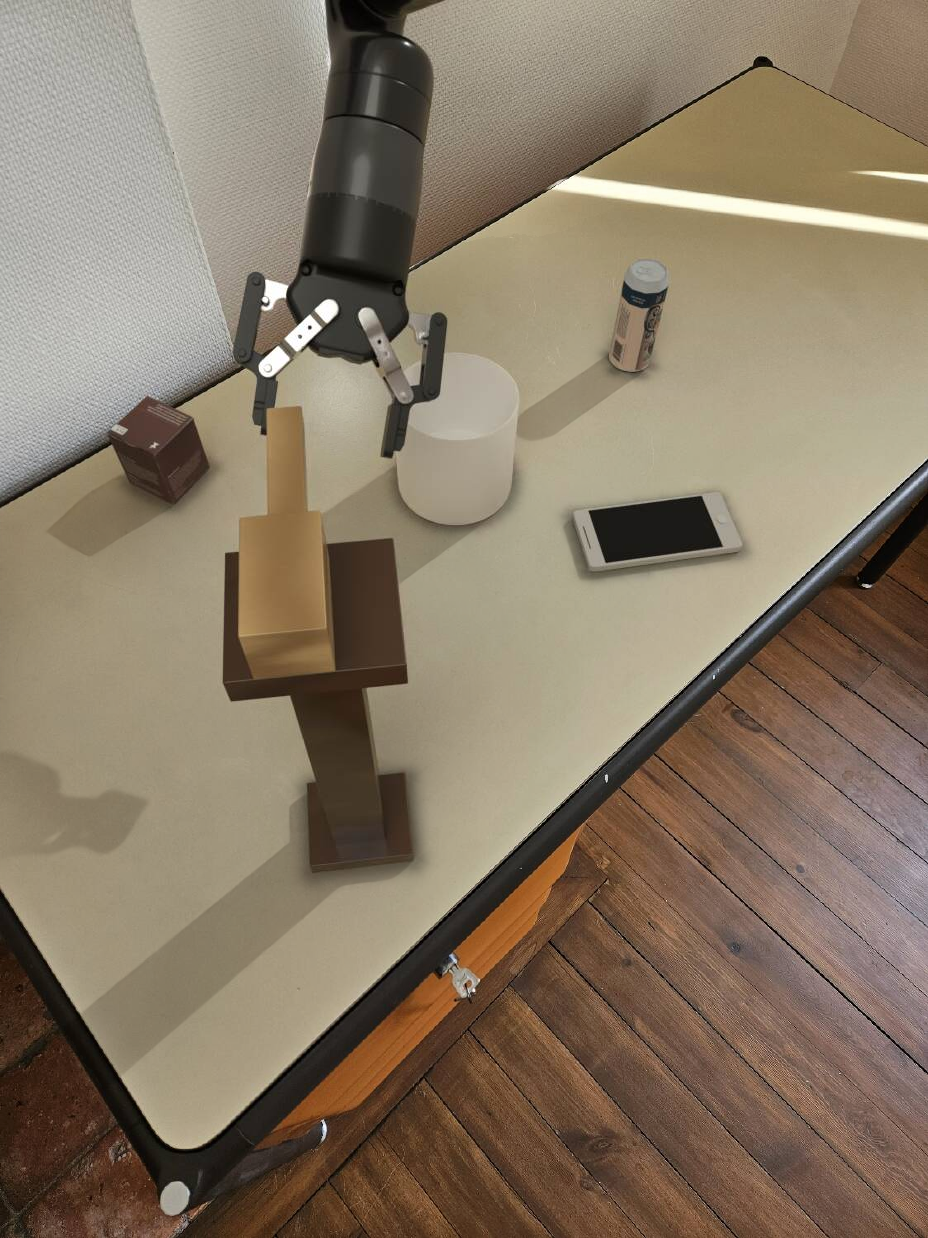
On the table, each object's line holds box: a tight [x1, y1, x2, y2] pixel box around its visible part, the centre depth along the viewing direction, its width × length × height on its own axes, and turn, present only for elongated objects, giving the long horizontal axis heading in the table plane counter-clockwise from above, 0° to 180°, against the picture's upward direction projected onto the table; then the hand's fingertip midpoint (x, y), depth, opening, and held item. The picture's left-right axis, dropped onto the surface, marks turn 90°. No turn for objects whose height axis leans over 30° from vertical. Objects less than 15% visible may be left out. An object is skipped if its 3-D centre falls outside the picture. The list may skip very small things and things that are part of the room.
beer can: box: [608, 257, 671, 373], centre depth 99 cm, size 5×5×12 cm
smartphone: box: [572, 491, 743, 572], centre depth 90 cm, size 7×16×1 cm, turn 100°
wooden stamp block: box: [238, 405, 335, 679], centre depth 47 cm, size 4×17×4 cm, turn 7°
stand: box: [222, 537, 415, 874], centre depth 60 cm, size 9×8×32 cm
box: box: [106, 395, 211, 505], centre depth 90 cm, size 6×6×7 cm
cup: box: [395, 352, 520, 526], centre depth 88 cm, size 12×12×12 cm
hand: (327, 446), depth 64 cm, fingers open, 8 cm apart
